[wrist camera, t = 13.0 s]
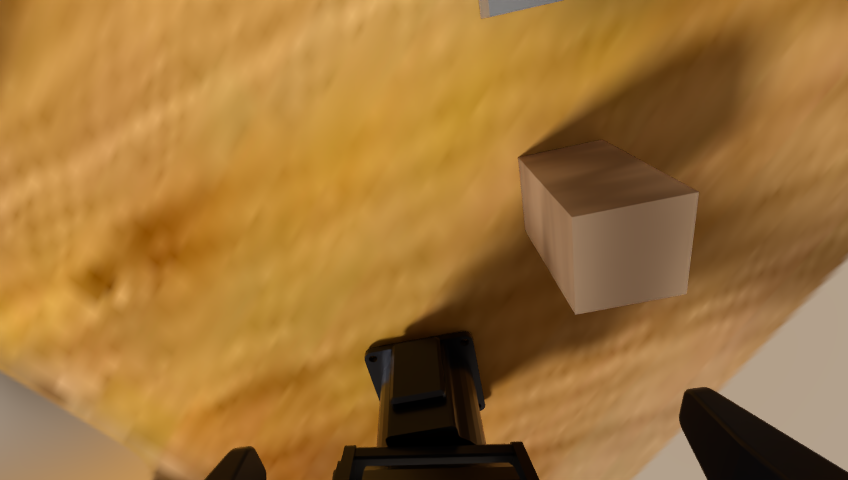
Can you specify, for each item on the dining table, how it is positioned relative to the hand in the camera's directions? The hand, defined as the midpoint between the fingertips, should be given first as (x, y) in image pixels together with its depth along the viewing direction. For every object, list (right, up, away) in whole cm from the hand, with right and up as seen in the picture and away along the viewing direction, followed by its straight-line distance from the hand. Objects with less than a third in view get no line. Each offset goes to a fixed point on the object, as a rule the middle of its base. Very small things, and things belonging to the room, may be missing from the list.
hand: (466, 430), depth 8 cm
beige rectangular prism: (+6, +7, +12) cm, 15 cm away
